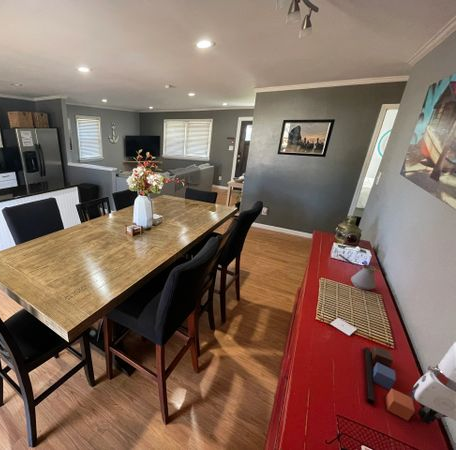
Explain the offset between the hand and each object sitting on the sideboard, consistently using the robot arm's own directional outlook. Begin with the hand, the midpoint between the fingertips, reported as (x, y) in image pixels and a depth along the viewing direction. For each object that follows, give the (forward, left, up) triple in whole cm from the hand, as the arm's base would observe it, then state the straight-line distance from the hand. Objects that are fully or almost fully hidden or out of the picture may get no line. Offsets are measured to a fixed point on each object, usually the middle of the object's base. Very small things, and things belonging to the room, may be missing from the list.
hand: (423, 418), depth 75 cm
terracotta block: (+6, 0, -2) cm, 6 cm away
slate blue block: (+9, -10, -2) cm, 13 cm away
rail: (+13, -10, -2) cm, 16 cm away
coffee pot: (+18, -80, -2) cm, 82 cm away
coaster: (+21, -33, -2) cm, 39 cm away
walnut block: (+9, -19, -2) cm, 21 cm away
